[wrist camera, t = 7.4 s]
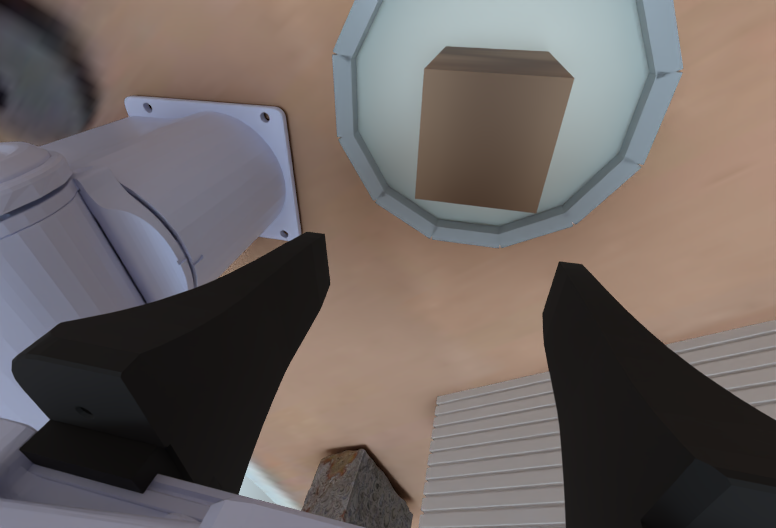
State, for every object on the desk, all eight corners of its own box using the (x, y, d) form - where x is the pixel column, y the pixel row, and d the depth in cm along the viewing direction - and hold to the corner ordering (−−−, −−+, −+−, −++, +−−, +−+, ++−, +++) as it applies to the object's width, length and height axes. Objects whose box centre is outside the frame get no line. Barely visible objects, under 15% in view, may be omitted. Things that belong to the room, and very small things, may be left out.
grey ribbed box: (1127, 234, 15) (1958, 547, 7) (1094, 398, 19) (1588, 728, 10) (437, 394, 31) (415, 549, 22) (497, 466, 34) (498, 622, 26)
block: (436, 144, 18) (414, 198, 13) (445, 46, 15) (424, 68, 11) (524, 152, 17) (536, 213, 12) (548, 51, 15) (574, 78, 10)
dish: (353, 210, 22) (342, 227, 21) (341, -97, 15) (322, -108, 13) (593, 241, 20) (602, 262, 18) (729, -105, 12) (764, -120, 11)
